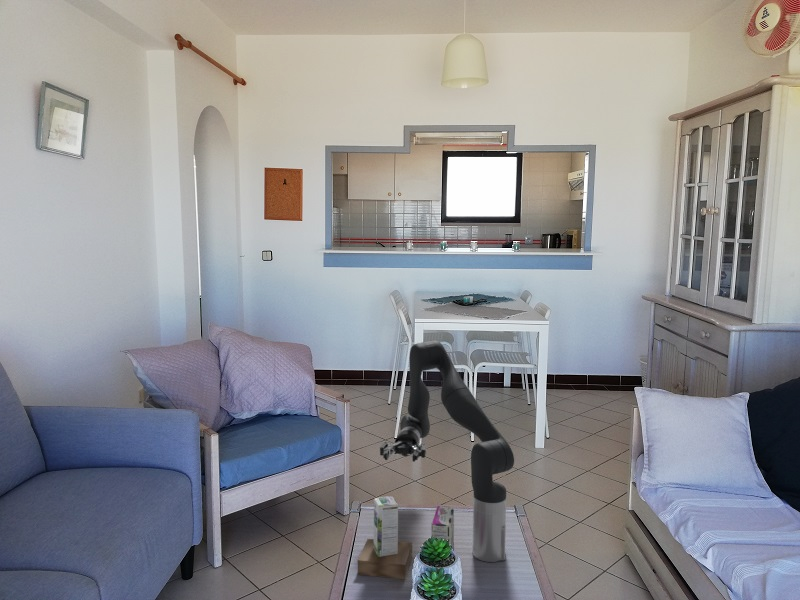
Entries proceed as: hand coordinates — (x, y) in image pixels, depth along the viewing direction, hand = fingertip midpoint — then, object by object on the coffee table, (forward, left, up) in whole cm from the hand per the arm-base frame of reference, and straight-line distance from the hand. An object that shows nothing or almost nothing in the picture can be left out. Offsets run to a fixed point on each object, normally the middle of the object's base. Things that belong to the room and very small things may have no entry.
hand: (399, 457), depth 187 cm
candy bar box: (-15, +20, -24) cm, 35 cm away
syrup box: (+1, +19, -20) cm, 27 cm away
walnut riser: (+1, +19, -24) cm, 30 cm away
